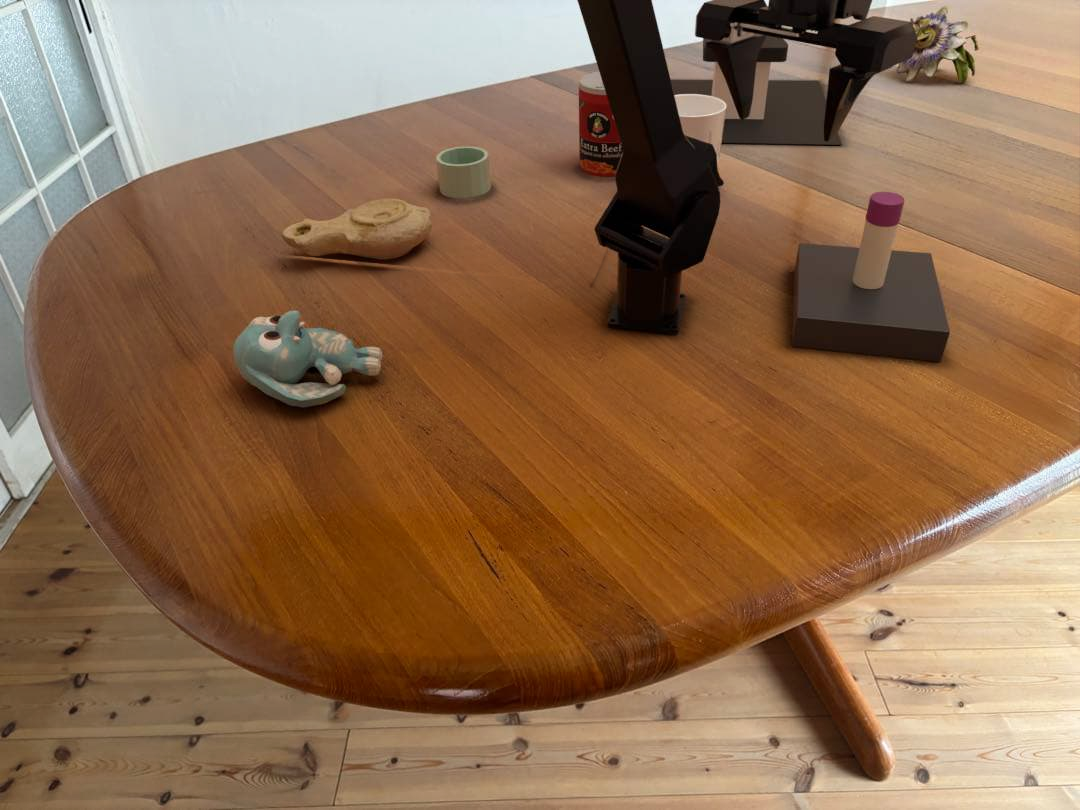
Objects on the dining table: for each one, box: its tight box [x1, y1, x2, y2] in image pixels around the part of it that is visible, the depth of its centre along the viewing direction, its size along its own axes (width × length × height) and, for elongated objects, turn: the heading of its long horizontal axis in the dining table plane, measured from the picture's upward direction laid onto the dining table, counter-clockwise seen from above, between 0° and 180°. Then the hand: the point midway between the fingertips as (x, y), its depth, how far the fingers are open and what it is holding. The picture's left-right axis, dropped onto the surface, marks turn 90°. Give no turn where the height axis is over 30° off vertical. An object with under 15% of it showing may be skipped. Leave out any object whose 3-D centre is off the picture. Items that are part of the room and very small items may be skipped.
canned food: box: [578, 70, 623, 178], centre depth 101 cm, size 8×8×11 cm
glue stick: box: [853, 191, 905, 289], centre depth 71 cm, size 3×3×8 cm
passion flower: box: [896, 5, 980, 85], centre depth 127 cm, size 11×11×12 cm
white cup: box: [674, 94, 727, 167], centre depth 95 cm, size 8×8×10 cm
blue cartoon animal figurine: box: [232, 309, 384, 408], centre depth 68 cm, size 11×7×12 cm
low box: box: [791, 242, 951, 363], centre depth 74 cm, size 14×12×3 cm
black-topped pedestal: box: [671, 36, 843, 146], centre depth 116 cm, size 28×26×13 cm
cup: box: [435, 145, 492, 200], centre depth 99 cm, size 6×6×4 cm
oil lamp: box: [281, 198, 433, 260], centre depth 86 cm, size 11×14×5 cm
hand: (785, 128), depth 76 cm, fingers open, 9 cm apart
